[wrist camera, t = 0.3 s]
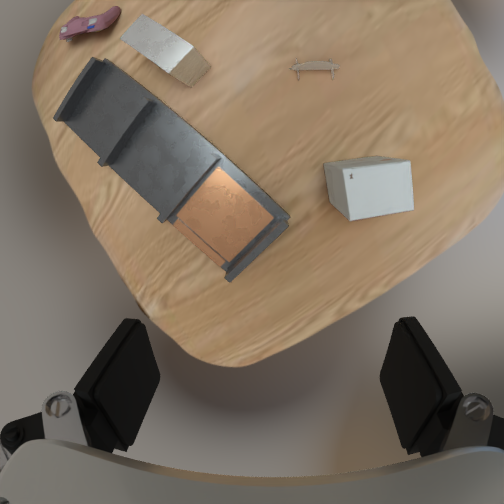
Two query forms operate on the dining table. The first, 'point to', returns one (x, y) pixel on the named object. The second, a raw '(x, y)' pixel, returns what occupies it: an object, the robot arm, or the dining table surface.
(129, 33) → the panel
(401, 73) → the dining table surface
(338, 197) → the small box
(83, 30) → the video game controller
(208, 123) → the dining table surface
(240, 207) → the slot rack
